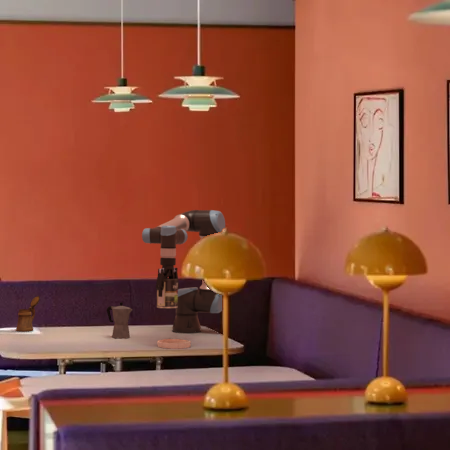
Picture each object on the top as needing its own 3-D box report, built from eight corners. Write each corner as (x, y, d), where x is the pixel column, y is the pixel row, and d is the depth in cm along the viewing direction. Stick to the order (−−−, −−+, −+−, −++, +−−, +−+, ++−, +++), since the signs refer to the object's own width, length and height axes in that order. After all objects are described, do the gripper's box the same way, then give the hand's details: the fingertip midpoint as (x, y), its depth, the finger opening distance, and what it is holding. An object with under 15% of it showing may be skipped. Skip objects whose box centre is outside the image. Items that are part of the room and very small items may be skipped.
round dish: (168, 343, 592) (168, 338, 592) (196, 345, 584) (196, 340, 584) (151, 346, 578) (151, 341, 578) (179, 349, 570) (179, 344, 570)
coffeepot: (136, 337, 611) (137, 302, 611) (126, 339, 603) (127, 303, 602) (111, 335, 619) (112, 300, 618) (101, 337, 611) (101, 301, 610)
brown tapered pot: (43, 330, 636) (44, 296, 635) (22, 332, 626) (22, 297, 626) (34, 328, 642) (34, 294, 641) (12, 330, 633) (12, 296, 632)
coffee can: (180, 306, 589) (180, 278, 589) (174, 308, 579) (174, 279, 579) (159, 306, 592) (160, 277, 591) (153, 307, 582) (154, 278, 581)
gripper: (174, 256, 596) (173, 300, 597) (148, 257, 577) (147, 303, 577) (187, 256, 592) (186, 301, 593) (161, 258, 573) (160, 304, 574)
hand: (167, 302), depth 585 cm, fingers closed on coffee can, 10 cm apart
